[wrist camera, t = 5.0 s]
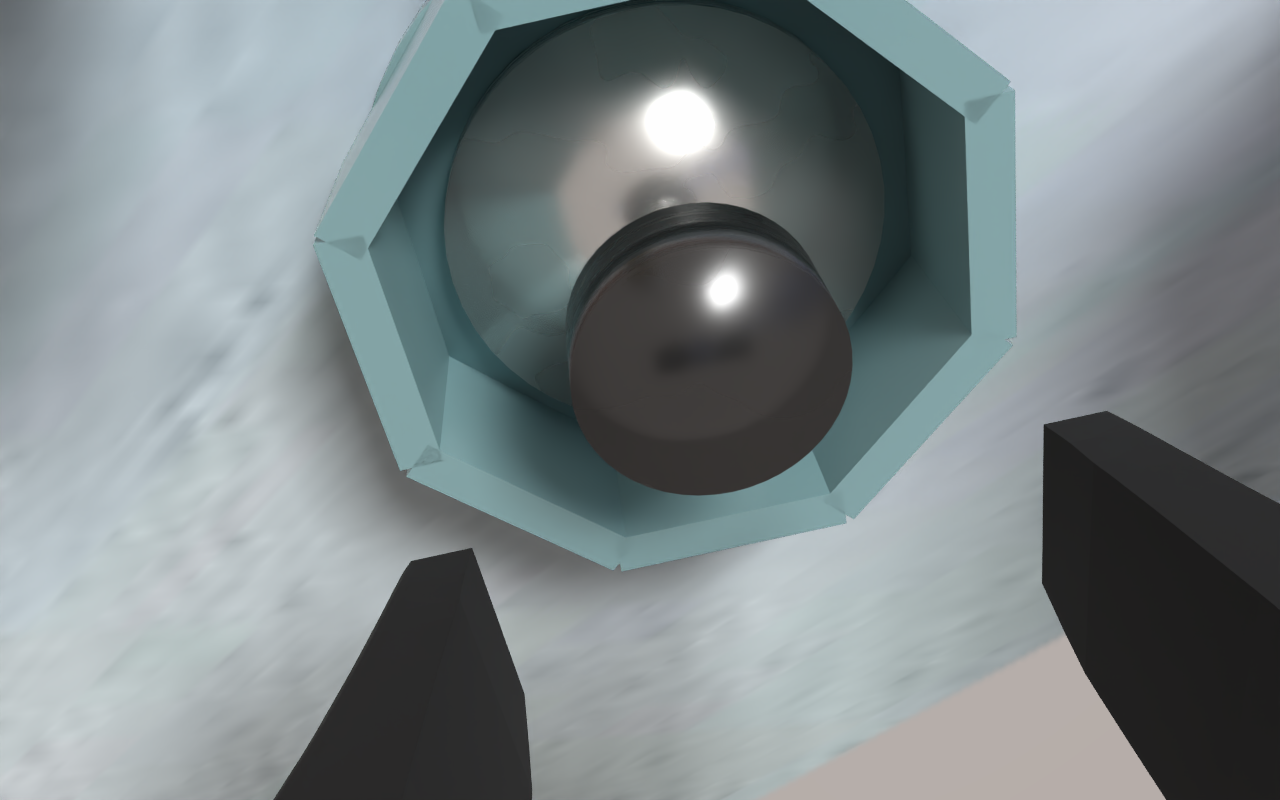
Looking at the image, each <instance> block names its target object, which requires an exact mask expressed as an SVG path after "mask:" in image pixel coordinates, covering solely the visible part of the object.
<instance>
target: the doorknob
mask: <svg viewBox="0 0 1280 800" xmlns="http://www.w3.org/2000/svg"><path fill="white" fill-rule="evenodd" d="M883 221H884V183H883V176H882V169H881V162H880V158H879V155H878V151H877V148H876V145H875V141H874V138H873V134H872V132H871V130H870V128H869V126H868V124H867V121H866V119H865V117H864V115H863V113H862V111H861V109H860V107H859V105H858V104H857V102H856V101H855V99H854V98H853V96H852V95H851V93H850V92H849V90H848V89H847V87H846V86H845V84H844V83H843V82H842V81H841V80H840V79H839V78H838V77H837V75H836V74H835V73H834V72H833V71H832V70H831V69H830V68H829V66H828V65H827V64H826V63H825V62H824V61H823V60H822V59H821V58H820V57H819V56H818V55H817V54H816V53H815V52H814V51H813V50H811V49H810V48H809V47H808V46H807V45H806V44H804V43H803V42H802V41H801V40H800V39H798V38H797V37H796V36H795V35H793V34H791V33H790V32H788V31H787V30H785V29H783V28H782V27H780V26H778V25H777V24H775V23H774V22H772V21H770V20H768V19H766V18H764V17H761V16H759V15H757V14H754V13H752V12H750V11H747V10H745V9H743V8H739V7H735V6H732V5H728V4H724V3H721V2H717V1H713V0H631V1H624V2H619V3H616V4H612V5H609V6H606V7H602V8H599V9H596V10H592V11H590V12H587V13H585V14H583V15H581V16H578V17H576V18H574V19H572V20H570V21H567V22H565V23H563V24H561V25H560V26H558V27H556V28H555V29H553V30H552V31H550V32H548V33H547V34H545V35H543V36H542V37H540V38H539V39H537V40H536V41H534V42H533V43H532V44H531V45H530V46H528V47H527V48H526V49H525V50H524V51H522V52H521V53H520V54H519V55H518V56H516V57H515V58H514V59H513V60H512V61H511V62H510V63H509V64H508V65H507V66H506V67H505V68H504V69H503V71H502V72H501V73H500V74H499V75H498V76H497V77H496V78H495V79H494V80H493V81H492V83H491V84H490V85H489V87H488V88H487V90H486V91H485V93H484V94H483V96H482V97H481V99H480V100H479V101H478V103H477V104H476V106H475V107H474V109H473V111H472V113H471V115H470V117H469V119H468V121H467V123H466V125H465V127H464V129H463V131H462V133H461V136H460V139H459V142H458V145H457V148H456V151H455V154H454V157H453V160H452V165H451V170H450V175H449V180H448V186H447V192H446V199H445V216H444V235H445V246H446V256H447V260H448V265H449V269H450V273H451V277H452V281H453V284H454V287H455V289H456V292H457V294H458V297H459V299H460V302H461V304H462V307H463V309H464V310H465V312H466V314H467V316H468V318H469V319H470V321H471V323H472V325H473V326H474V328H475V330H476V331H477V333H478V334H479V335H480V336H481V338H482V339H483V340H484V342H485V343H486V344H487V346H488V347H489V348H490V350H491V351H492V352H493V353H494V354H495V355H496V356H497V357H498V358H499V359H500V360H501V361H502V362H503V363H504V364H505V365H506V366H507V367H508V368H509V369H510V370H512V371H513V372H514V373H516V374H517V375H518V376H519V377H521V378H522V379H523V380H525V381H526V382H527V383H528V384H530V385H531V386H533V387H535V388H537V389H538V390H540V391H542V392H543V393H545V394H547V395H548V396H550V397H552V398H554V399H556V400H559V401H561V402H563V403H566V404H568V405H570V406H573V409H574V413H575V416H576V418H577V421H578V424H579V427H580V428H581V430H582V432H583V434H584V436H585V438H586V440H587V441H588V442H589V444H590V445H591V446H592V448H593V449H594V450H595V452H596V453H597V454H598V455H599V456H600V457H601V458H602V459H603V460H604V461H605V462H606V463H607V464H608V465H610V466H611V467H612V468H614V469H615V470H616V471H618V472H619V473H620V474H622V475H624V476H626V477H627V478H629V479H631V480H633V481H635V482H637V483H639V484H642V485H644V486H647V487H649V488H653V489H656V490H660V491H663V492H668V493H674V494H680V495H696V496H701V495H717V494H723V493H729V492H735V491H738V490H742V489H746V488H749V487H752V486H755V485H757V484H760V483H762V482H765V481H767V480H769V479H771V478H773V477H775V476H777V475H779V474H781V473H783V472H784V471H786V470H787V469H789V468H790V467H792V466H793V465H795V464H796V463H798V462H799V461H800V460H801V459H803V458H804V457H805V456H806V455H807V454H809V453H810V452H811V451H812V450H813V449H814V448H815V447H816V446H817V445H818V443H819V442H820V441H821V440H822V439H823V438H824V436H825V435H826V434H827V433H828V431H829V430H830V429H831V427H832V426H833V424H834V422H835V420H836V419H837V417H838V415H839V414H840V412H841V409H842V407H843V405H844V402H845V400H846V397H847V394H848V390H849V386H850V383H851V375H852V367H853V362H852V346H851V341H850V335H849V332H848V329H847V326H846V323H845V322H846V320H847V319H848V318H849V316H850V315H851V313H852V311H853V310H854V308H855V306H856V304H857V303H858V301H859V299H860V297H861V295H862V294H863V292H864V290H865V287H866V285H867V282H868V280H869V277H870V275H871V273H872V270H873V268H874V265H875V261H876V257H877V253H878V250H879V246H880V242H881V236H882V228H883Z"/></svg>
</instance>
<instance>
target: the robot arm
mask: <svg viewBox="0 0 1280 800" xmlns="http://www.w3.org/2000/svg"><path fill="white" fill-rule="evenodd" d="M1042 584H1043V586H1044V588H1045V590H1046V593H1047V595H1048V597H1049V599H1050V601H1051V603H1052V606H1053V608H1054V610H1055V612H1056V614H1057V616H1058V619H1059V621H1060V623H1061V625H1062V627H1063V629H1064V632H1065V634H1066V636H1067V638H1068V640H1069V642H1070V644H1071V646H1072V648H1073V650H1074V652H1075V654H1076V656H1077V658H1078V660H1079V662H1080V664H1081V666H1082V668H1083V670H1084V672H1085V674H1086V675H1087V677H1088V679H1089V680H1090V682H1091V684H1092V685H1093V687H1094V688H1095V690H1096V692H1097V693H1098V695H1099V696H1100V698H1101V699H1102V701H1103V703H1104V704H1105V706H1106V707H1107V709H1108V710H1109V712H1110V713H1111V715H1112V717H1113V718H1114V720H1115V721H1116V723H1117V724H1118V726H1119V728H1120V729H1121V731H1122V732H1123V734H1124V735H1125V737H1126V739H1127V740H1128V741H1129V743H1130V745H1131V746H1132V748H1133V749H1134V751H1135V752H1136V754H1137V755H1138V757H1139V758H1140V760H1141V761H1142V763H1143V765H1144V766H1145V768H1146V769H1147V771H1148V772H1149V774H1150V775H1151V777H1152V778H1153V780H1154V781H1155V783H1156V785H1157V786H1158V788H1159V789H1160V791H1161V792H1162V794H1163V795H1164V797H1165V799H1166V800H1280V504H1279V503H1277V502H1275V501H1273V500H1271V499H1269V498H1267V497H1265V496H1263V495H1261V494H1260V493H1258V492H1256V491H1254V490H1252V489H1250V488H1248V487H1247V486H1245V485H1243V484H1241V483H1239V482H1237V481H1235V480H1234V479H1232V478H1230V477H1228V476H1226V475H1224V474H1223V473H1221V472H1219V471H1217V470H1215V469H1214V468H1212V467H1210V466H1208V465H1206V464H1204V463H1203V462H1201V461H1199V460H1197V459H1195V458H1193V457H1192V456H1190V455H1188V454H1186V453H1184V452H1183V451H1181V450H1179V449H1177V448H1175V447H1174V446H1172V445H1170V444H1168V443H1166V442H1164V441H1163V440H1161V439H1159V438H1157V437H1155V436H1154V435H1152V434H1150V433H1148V432H1146V431H1144V430H1143V429H1141V428H1139V427H1137V426H1135V425H1133V424H1131V423H1129V422H1128V421H1126V420H1124V419H1122V418H1120V417H1118V416H1116V415H1114V414H1112V413H1110V412H1108V411H1104V412H1100V413H1095V414H1090V415H1086V416H1081V417H1077V418H1072V419H1067V420H1063V421H1058V422H1053V423H1049V424H1044V452H1043V553H1042ZM274 800H532V782H531V768H530V754H529V741H528V730H527V718H526V707H525V696H524V691H523V689H522V686H521V683H520V680H519V678H518V675H517V672H516V669H515V666H514V664H513V661H512V658H511V655H510V652H509V650H508V647H507V644H506V641H505V638H504V636H503V633H502V630H501V627H500V624H499V622H498V619H497V616H496V613H495V611H494V608H493V605H492V602H491V599H490V597H489V594H488V591H487V588H486V585H485V583H484V580H483V577H482V574H481V571H480V569H479V566H478V563H477V560H476V557H475V555H474V552H473V549H472V548H470V549H465V550H461V551H456V552H451V553H447V554H442V555H437V556H433V557H428V558H423V559H419V560H414V561H411V562H410V563H409V565H408V566H407V568H406V569H405V571H404V572H403V574H402V576H401V578H400V579H399V581H398V583H397V585H396V587H395V589H394V591H393V593H392V595H391V597H390V599H389V601H388V602H387V604H386V606H385V608H384V610H383V612H382V614H381V616H380V618H379V620H378V622H377V624H376V626H375V627H374V629H373V631H372V633H371V635H370V637H369V639H368V641H367V642H366V644H365V646H364V648H363V650H362V652H361V654H360V655H359V657H358V659H357V661H356V663H355V665H354V667H353V668H352V670H351V672H350V674H349V676H348V677H347V679H346V681H345V683H344V684H343V686H342V688H341V690H340V691H339V693H338V695H337V697H336V698H335V700H334V702H333V703H332V705H331V707H330V709H329V710H328V712H327V714H326V716H325V717H324V719H323V721H322V723H321V724H320V726H319V728H318V730H317V731H316V733H315V735H314V736H313V738H312V740H311V741H310V743H309V745H308V746H307V748H306V750H305V751H304V753H303V755H302V756H301V758H300V759H299V761H298V762H297V764H296V766H295V767H294V769H293V770H292V772H291V773H290V775H289V776H288V778H287V780H286V781H285V783H284V784H283V786H282V787H281V789H280V790H279V792H278V794H277V795H276V797H275V798H274Z"/></svg>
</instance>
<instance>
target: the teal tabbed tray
mask: <svg viewBox="0 0 1280 800" xmlns="http://www.w3.org/2000/svg"><path fill="white" fill-rule="evenodd" d="M624 1H631V0H427V1H426V2H425V3H424V5H423V6H422V7H421V8H420V10H419V11H418V13H417V15H416V16H415V18H414V19H413V21H412V22H411V24H410V25H409V27H408V29H407V30H406V32H405V33H404V35H403V36H402V38H401V39H400V41H399V43H398V45H397V47H396V49H395V52H394V54H393V56H392V58H391V60H390V63H389V65H388V67H387V69H386V71H385V73H384V76H383V78H382V80H381V83H380V86H379V88H378V91H377V94H376V98H375V101H374V104H373V108H372V110H371V112H370V114H369V116H368V118H367V119H366V121H365V123H364V125H363V127H362V128H361V130H360V132H359V134H358V136H357V137H356V139H355V141H354V143H353V145H352V147H351V148H350V150H349V152H348V154H347V156H346V157H345V159H344V161H343V163H342V166H341V168H340V171H339V173H338V176H337V178H336V181H335V183H334V186H333V188H332V191H331V193H330V196H329V198H328V201H327V204H326V206H325V209H324V211H323V214H322V216H321V219H320V221H319V224H318V226H317V229H316V231H315V234H314V236H315V237H316V240H315V242H314V245H313V246H314V249H315V252H316V254H317V257H318V259H319V262H320V264H321V267H322V270H323V272H324V275H325V277H326V280H327V283H328V285H329V288H330V290H331V293H332V296H333V298H334V301H335V303H336V306H337V309H338V311H339V314H340V316H341V319H342V322H343V324H344V327H345V329H346V332H347V335H348V337H349V340H350V342H351V345H352V347H353V350H354V353H355V355H356V358H357V360H358V363H359V366H360V368H361V371H362V373H363V376H364V379H365V381H366V384H367V386H368V389H369V392H370V394H371V397H372V399H373V402H374V405H375V407H376V410H377V412H378V415H379V418H380V420H381V423H382V425H383V428H384V430H385V433H386V436H387V438H388V441H389V443H390V446H391V449H392V451H393V454H394V456H395V459H396V462H397V464H398V467H399V469H400V471H401V470H406V469H407V475H406V477H408V478H410V479H412V480H414V481H416V482H419V483H421V484H423V485H425V486H427V487H430V488H432V489H434V490H436V491H438V492H441V493H443V494H445V495H447V496H449V497H452V498H454V499H456V500H458V501H461V502H463V503H465V504H467V505H469V506H472V507H474V508H476V509H478V510H480V511H483V512H485V513H487V514H489V515H491V516H494V517H496V518H498V519H500V520H502V521H505V522H507V523H509V524H511V525H513V526H516V527H518V528H520V529H522V530H525V531H527V532H529V533H531V534H533V535H536V536H538V537H540V538H542V539H544V540H547V541H549V542H551V543H553V544H555V545H558V546H560V547H562V548H564V549H566V550H569V551H571V552H573V553H575V554H578V555H580V556H582V557H584V558H586V559H589V560H591V561H593V562H595V563H597V564H600V565H602V566H604V567H606V568H608V569H611V570H613V571H614V569H615V568H616V567H617V566H618V564H619V563H620V567H621V570H622V571H627V570H631V569H636V568H641V567H645V566H650V565H655V564H659V563H664V562H668V561H673V560H678V559H682V558H687V557H692V556H696V555H701V554H706V553H710V552H715V551H720V550H724V549H729V548H734V547H738V546H743V545H748V544H752V543H757V542H761V541H766V540H771V539H775V538H780V537H785V536H789V535H794V534H799V533H803V532H808V531H813V530H817V529H822V528H827V527H831V526H836V525H841V524H845V523H846V515H847V516H849V517H851V518H853V519H854V518H855V517H856V516H857V515H858V514H859V513H860V512H861V511H862V510H863V509H864V507H865V506H866V505H867V504H868V503H869V502H870V501H871V500H872V499H873V498H874V497H875V495H876V494H877V493H878V492H879V491H880V490H881V489H882V488H883V487H884V486H885V485H886V483H887V482H888V481H889V480H890V479H891V478H892V477H893V476H894V475H895V474H896V472H897V471H898V470H899V469H900V468H901V467H902V466H903V465H904V464H905V463H906V462H907V460H908V459H909V458H910V457H911V456H912V455H913V454H914V453H915V452H916V451H917V450H918V448H919V447H920V446H921V445H922V444H923V443H924V442H925V441H926V440H927V439H928V437H929V436H930V435H931V434H932V433H933V432H934V431H935V430H936V429H937V428H938V427H939V425H940V424H941V423H942V422H943V421H944V420H945V419H946V418H947V417H948V416H949V414H950V413H951V412H952V411H953V410H954V409H955V408H956V407H957V406H958V405H959V404H960V402H961V401H962V400H963V399H964V398H965V397H966V396H967V395H968V394H969V393H970V392H971V390H972V389H973V388H974V387H975V386H976V385H977V384H978V383H979V382H980V381H981V379H982V378H983V377H984V376H985V375H986V374H987V373H988V372H989V371H990V370H991V369H992V367H993V366H994V365H995V364H996V363H997V362H998V361H999V360H1000V359H1001V358H1002V357H1003V355H1004V354H1005V353H1006V352H1007V351H1008V350H1009V349H1010V348H1011V347H1012V346H1013V345H1012V343H1011V342H1010V341H1009V340H1008V339H1009V338H1014V337H1016V180H1015V90H1014V89H1012V88H1011V87H1009V86H1008V84H1009V83H1010V82H1011V81H1009V80H1008V79H1007V78H1006V77H1004V76H1003V75H1002V74H1000V73H999V72H998V71H996V70H995V69H994V68H993V67H991V66H990V65H989V64H987V63H986V62H985V61H984V60H982V59H981V58H980V57H978V56H977V55H976V54H974V53H973V52H972V51H971V50H969V49H968V48H967V47H965V46H964V45H963V44H962V43H960V42H959V41H958V40H956V39H955V38H954V37H952V36H951V35H950V34H949V33H947V32H946V31H945V30H943V29H942V28H941V27H939V26H938V25H937V24H936V23H934V22H933V21H932V20H930V19H929V18H928V17H927V16H925V15H924V14H923V13H921V12H920V11H919V10H917V9H916V8H915V7H914V6H912V5H911V4H910V3H908V2H907V1H906V0H713V1H717V2H721V3H724V4H728V5H732V6H735V7H739V8H743V9H745V10H747V11H750V12H752V13H754V14H757V15H759V16H761V17H764V18H766V19H768V20H770V21H772V22H774V23H775V24H777V25H778V26H780V27H782V28H783V29H785V30H787V31H788V32H790V33H791V34H793V35H795V36H796V37H797V38H798V39H800V40H801V41H802V42H803V43H804V44H806V45H807V46H808V47H809V48H810V49H811V50H813V51H814V52H815V53H816V54H817V55H818V56H819V57H820V58H821V59H822V60H823V61H824V62H825V63H826V64H827V65H828V66H829V68H830V69H831V70H832V71H833V72H834V73H835V74H836V75H837V77H838V78H839V79H840V80H841V81H842V82H843V83H844V84H845V86H846V87H847V89H848V90H849V92H850V93H851V95H852V96H853V98H854V99H855V101H856V102H857V104H858V105H859V107H860V109H861V111H862V113H863V115H864V117H865V119H866V121H867V124H868V126H869V128H870V130H871V132H872V134H873V138H874V141H875V145H876V148H877V151H878V155H879V158H880V162H881V169H882V176H883V183H884V221H883V228H882V236H881V242H880V246H879V250H878V253H877V257H876V261H875V265H874V268H873V270H872V273H871V275H870V277H869V280H868V282H867V285H866V287H865V290H864V292H863V294H862V295H861V297H860V299H859V301H858V303H857V304H856V306H855V308H854V310H853V311H852V313H851V315H850V316H849V318H848V319H847V320H846V322H845V323H846V326H847V329H848V332H849V335H850V341H851V346H852V362H853V367H852V375H851V383H850V386H849V390H848V394H847V397H846V400H845V402H844V405H843V407H842V409H841V412H840V414H839V415H838V417H837V419H836V420H835V422H834V424H833V426H832V427H831V429H830V430H829V431H828V433H827V434H826V435H825V436H824V438H823V439H822V440H821V441H820V442H819V443H818V445H817V446H816V447H815V448H814V449H813V450H812V451H811V452H810V453H809V454H807V455H806V456H805V457H804V458H803V459H801V460H800V461H799V462H798V463H796V464H795V465H793V466H792V467H790V468H789V469H787V470H786V471H784V472H783V473H781V474H779V475H777V476H775V477H773V478H771V479H769V480H767V481H765V482H762V483H760V484H757V485H755V486H752V487H749V488H746V489H742V490H738V491H735V492H729V493H723V494H717V495H701V496H696V495H680V494H674V493H668V492H663V491H660V490H656V489H653V488H649V487H647V486H644V485H642V484H639V483H637V482H635V481H633V480H631V479H629V478H627V477H626V476H624V475H622V474H620V473H619V472H618V471H616V470H615V469H614V468H612V467H611V466H610V465H608V464H607V463H606V462H605V461H604V460H603V459H602V458H601V457H600V456H599V455H598V454H597V453H596V452H595V450H594V449H593V448H592V446H591V445H590V444H589V442H588V441H587V440H586V438H585V436H584V434H583V432H582V430H581V428H580V427H579V424H578V421H577V418H576V416H575V413H574V409H573V406H570V405H568V404H566V403H563V402H561V401H559V400H556V399H554V398H552V397H550V396H548V395H547V394H545V393H543V392H542V391H540V390H538V389H537V388H535V387H533V386H531V385H530V384H528V383H527V382H526V381H525V380H523V379H522V378H521V377H519V376H518V375H517V374H516V373H514V372H513V371H512V370H510V369H509V368H508V367H507V366H506V365H505V364H504V363H503V362H502V361H501V360H500V359H499V358H498V357H497V356H496V355H495V354H494V353H493V352H492V351H491V350H490V348H489V347H488V346H487V344H486V343H485V342H484V340H483V339H482V338H481V336H480V335H479V334H478V333H477V331H476V330H475V328H474V326H473V325H472V323H471V321H470V319H469V318H468V316H467V314H466V312H465V310H464V309H463V307H462V304H461V302H460V299H459V297H458V294H457V292H456V289H455V287H454V284H453V281H452V277H451V273H450V269H449V265H448V260H447V256H446V246H445V235H444V216H445V199H446V192H447V186H448V180H449V175H450V170H451V165H452V160H453V157H454V154H455V151H456V148H457V145H458V142H459V139H460V136H461V133H462V131H463V129H464V127H465V125H466V123H467V121H468V119H469V117H470V115H471V113H472V111H473V109H474V107H475V106H476V104H477V103H478V101H479V100H480V99H481V97H482V96H483V94H484V93H485V91H486V90H487V88H488V87H489V85H490V84H491V83H492V81H493V80H494V79H495V78H496V77H497V76H498V75H499V74H500V73H501V72H502V71H503V69H504V68H505V67H506V66H507V65H508V64H509V63H510V62H511V61H512V60H513V59H514V58H515V57H516V56H518V55H519V54H520V53H521V52H522V51H524V50H525V49H526V48H527V47H528V46H530V45H531V44H532V43H533V42H534V41H536V40H537V39H539V38H540V37H542V36H543V35H545V34H547V33H548V32H550V31H552V30H553V29H555V28H556V27H558V26H560V25H561V24H563V23H565V22H567V21H570V20H572V19H574V18H576V17H578V16H581V15H583V14H585V13H587V12H590V11H592V10H596V9H599V8H602V7H606V6H609V5H612V4H616V3H619V2H624Z"/></svg>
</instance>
